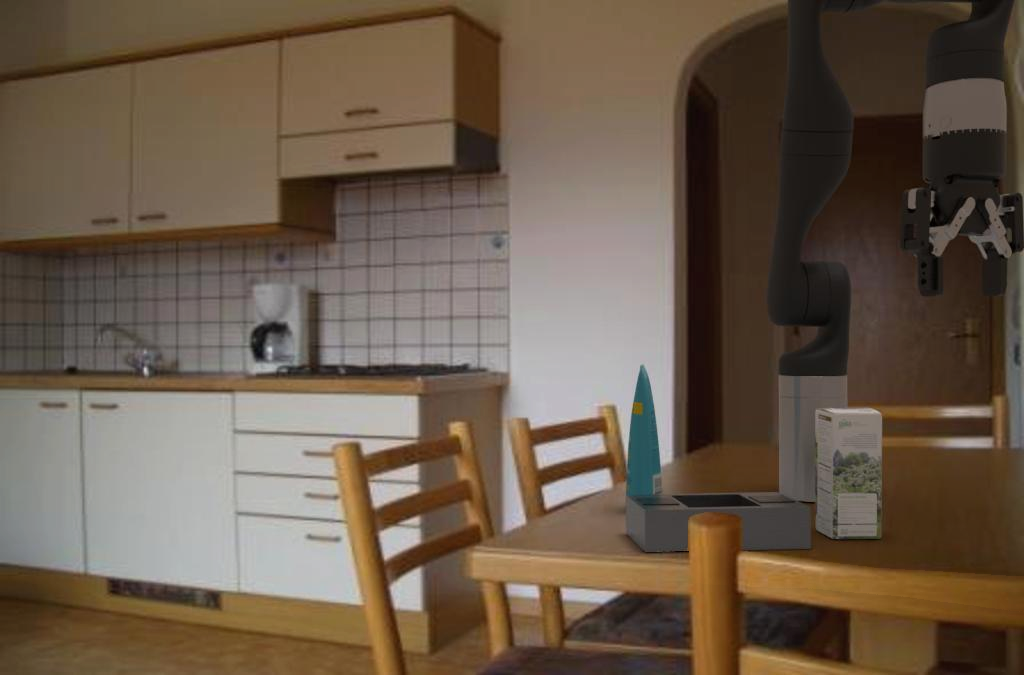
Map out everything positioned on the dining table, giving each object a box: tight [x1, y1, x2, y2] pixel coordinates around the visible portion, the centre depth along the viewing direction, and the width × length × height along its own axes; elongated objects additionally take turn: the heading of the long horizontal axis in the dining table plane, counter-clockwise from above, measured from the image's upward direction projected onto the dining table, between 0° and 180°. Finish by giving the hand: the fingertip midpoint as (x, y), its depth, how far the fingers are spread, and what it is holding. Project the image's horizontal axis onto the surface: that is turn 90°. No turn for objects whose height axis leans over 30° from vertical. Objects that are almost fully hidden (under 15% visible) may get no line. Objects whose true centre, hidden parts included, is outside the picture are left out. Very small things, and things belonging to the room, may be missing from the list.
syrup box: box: [814, 407, 883, 540], centre depth 111 cm, size 6×6×14 cm
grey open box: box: [625, 491, 812, 553], centre depth 108 cm, size 10×18×5 cm, turn 95°
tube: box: [625, 363, 663, 496], centre depth 127 cm, size 7×5×19 cm, turn 175°
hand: (963, 296), depth 97 cm, fingers open, 8 cm apart
